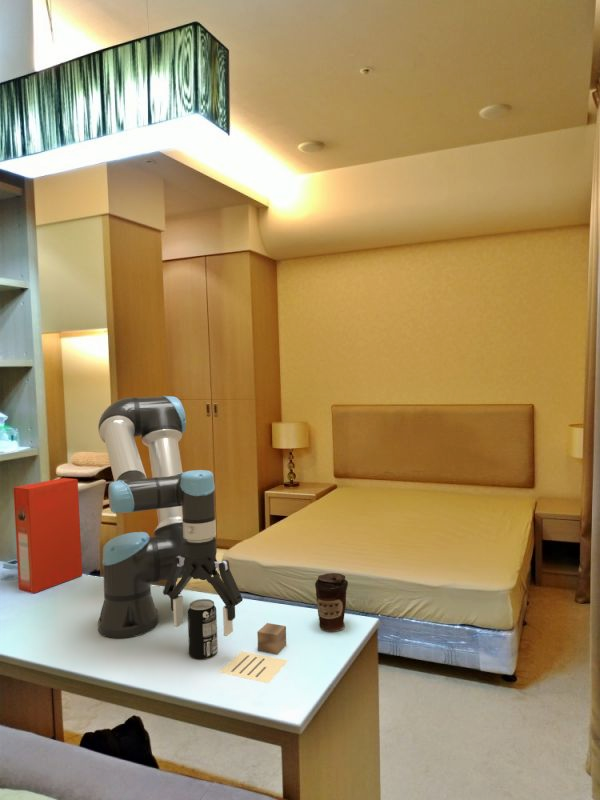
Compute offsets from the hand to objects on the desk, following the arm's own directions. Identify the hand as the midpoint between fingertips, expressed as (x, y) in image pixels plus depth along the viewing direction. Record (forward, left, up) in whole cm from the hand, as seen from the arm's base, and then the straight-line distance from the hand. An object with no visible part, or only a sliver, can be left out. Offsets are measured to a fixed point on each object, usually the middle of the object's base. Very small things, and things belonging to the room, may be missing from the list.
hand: (203, 629), depth 132 cm
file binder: (-72, +22, -6) cm, 76 cm away
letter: (+14, -1, -6) cm, 15 cm away
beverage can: (0, 0, -6) cm, 6 cm away
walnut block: (+14, +8, -6) cm, 17 cm away
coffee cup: (+23, +24, -6) cm, 34 cm away
